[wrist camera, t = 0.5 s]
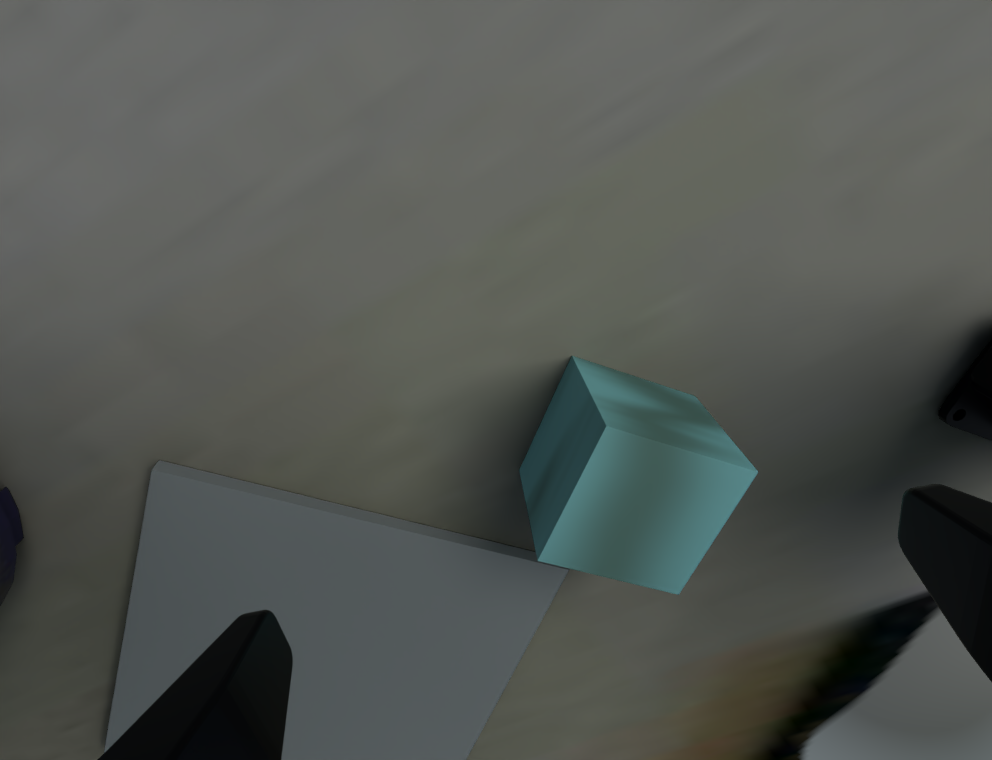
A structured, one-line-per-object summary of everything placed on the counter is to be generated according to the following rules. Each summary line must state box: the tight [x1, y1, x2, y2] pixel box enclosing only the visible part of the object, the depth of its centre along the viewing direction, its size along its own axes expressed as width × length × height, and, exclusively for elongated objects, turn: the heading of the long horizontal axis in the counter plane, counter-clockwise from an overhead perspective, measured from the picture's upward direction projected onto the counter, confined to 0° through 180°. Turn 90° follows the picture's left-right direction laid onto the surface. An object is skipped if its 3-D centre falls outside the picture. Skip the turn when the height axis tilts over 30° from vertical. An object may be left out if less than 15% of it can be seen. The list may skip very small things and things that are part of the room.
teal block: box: [519, 356, 758, 595], centre depth 20 cm, size 5×5×5 cm
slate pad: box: [104, 460, 569, 760], centre depth 26 cm, size 16×16×1 cm
